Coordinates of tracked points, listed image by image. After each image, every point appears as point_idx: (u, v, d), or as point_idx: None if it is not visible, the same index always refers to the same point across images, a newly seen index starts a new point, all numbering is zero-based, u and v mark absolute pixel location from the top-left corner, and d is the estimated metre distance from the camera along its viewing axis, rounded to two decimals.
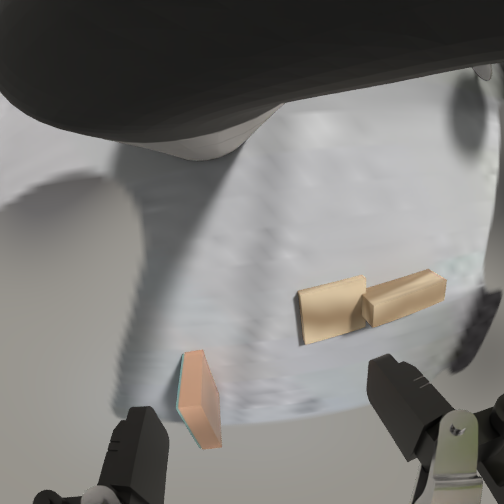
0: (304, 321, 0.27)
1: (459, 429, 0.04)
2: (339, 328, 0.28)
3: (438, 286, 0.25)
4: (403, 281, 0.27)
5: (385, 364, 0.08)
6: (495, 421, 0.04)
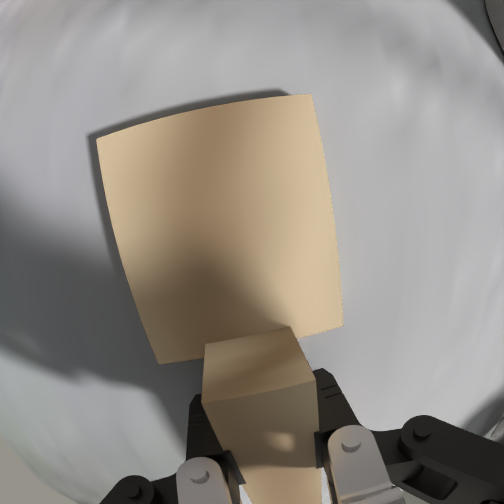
0: (199, 113, 0.07)
1: (348, 446, 0.05)
2: (154, 267, 0.07)
3: None
4: None
5: None
6: (407, 449, 0.05)
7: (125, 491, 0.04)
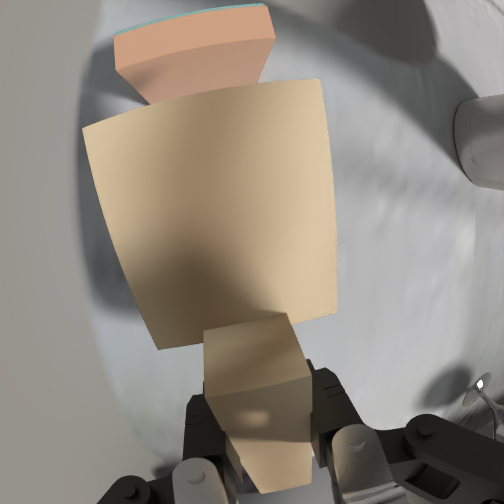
0: (195, 98, 0.06)
1: (352, 445, 0.05)
2: (151, 260, 0.07)
3: (303, 478, 0.10)
4: None
5: None
6: (411, 448, 0.05)
7: (121, 491, 0.04)
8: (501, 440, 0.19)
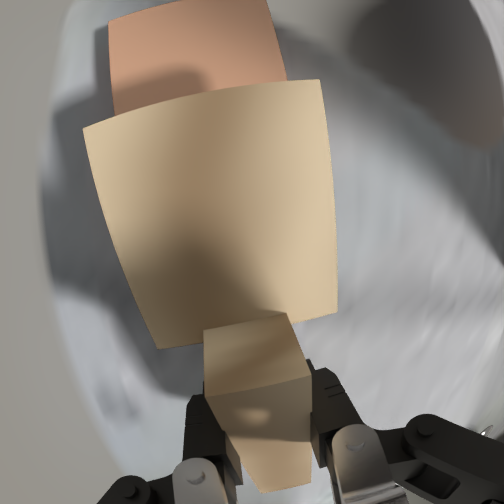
0: (195, 98, 0.06)
1: (352, 445, 0.05)
2: (151, 261, 0.07)
3: (303, 477, 0.10)
4: None
5: None
6: (411, 448, 0.05)
7: (121, 491, 0.04)
8: None
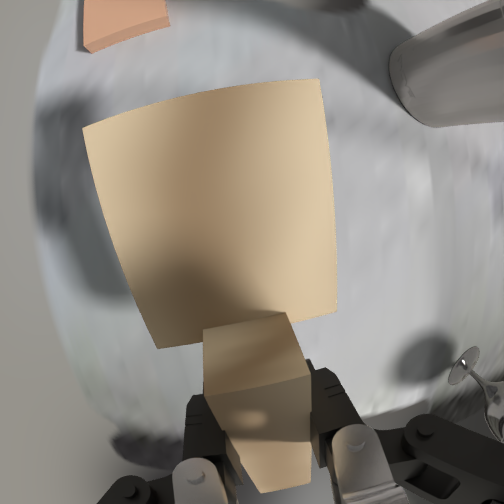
0: (195, 98, 0.06)
1: (352, 445, 0.05)
2: (151, 260, 0.07)
3: (303, 477, 0.10)
4: None
5: None
6: (411, 448, 0.05)
7: (122, 491, 0.04)
8: (493, 421, 0.19)
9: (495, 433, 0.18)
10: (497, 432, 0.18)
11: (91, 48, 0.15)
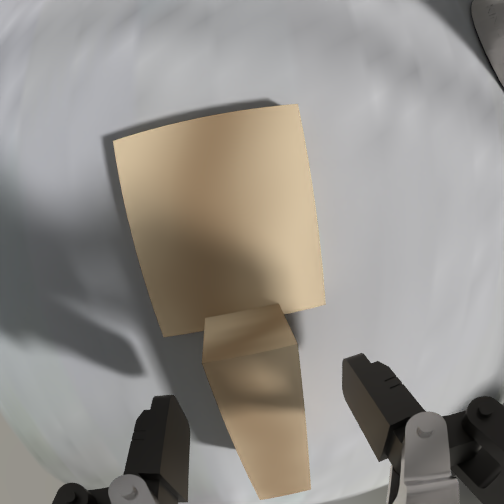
0: (202, 121, 0.08)
1: (425, 432, 0.05)
2: (163, 251, 0.09)
3: (302, 481, 0.10)
4: None
5: (357, 363, 0.08)
6: (469, 427, 0.05)
7: (64, 498, 0.04)
8: None
9: None
10: None
11: None
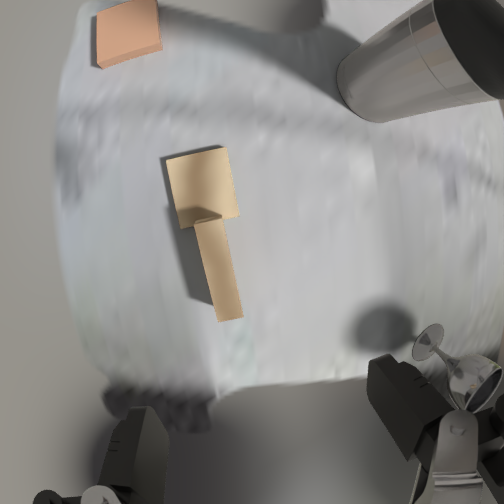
0: (195, 154, 0.26)
1: (459, 429, 0.04)
2: (182, 196, 0.27)
3: (237, 305, 0.27)
4: None
5: (385, 364, 0.08)
6: (495, 421, 0.04)
7: None
8: (454, 391, 0.26)
9: (457, 404, 0.25)
10: (459, 403, 0.24)
11: (102, 65, 0.22)
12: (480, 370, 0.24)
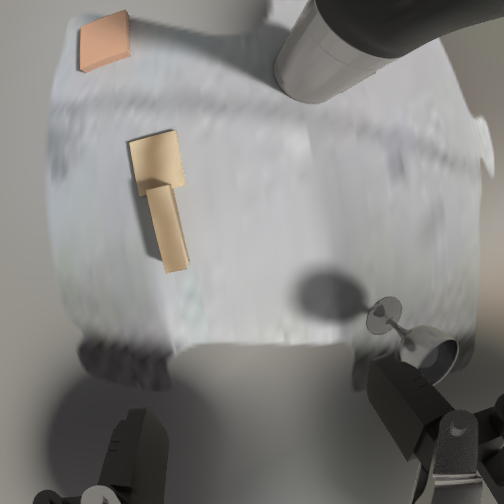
0: (151, 137, 0.30)
1: (459, 429, 0.04)
2: (141, 170, 0.31)
3: (181, 258, 0.32)
4: (180, 227, 0.34)
5: (385, 364, 0.08)
6: (495, 421, 0.04)
7: None
8: None
9: None
10: None
11: (84, 70, 0.26)
12: (428, 339, 0.28)
